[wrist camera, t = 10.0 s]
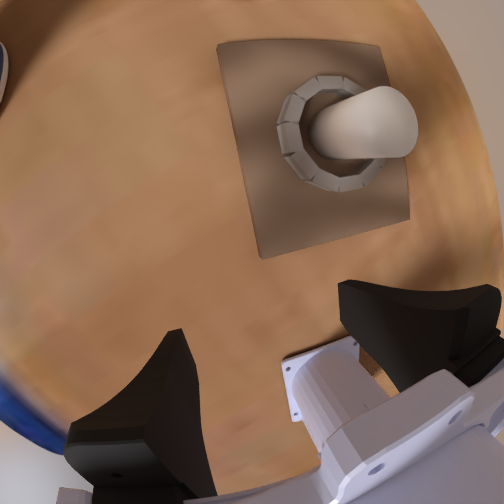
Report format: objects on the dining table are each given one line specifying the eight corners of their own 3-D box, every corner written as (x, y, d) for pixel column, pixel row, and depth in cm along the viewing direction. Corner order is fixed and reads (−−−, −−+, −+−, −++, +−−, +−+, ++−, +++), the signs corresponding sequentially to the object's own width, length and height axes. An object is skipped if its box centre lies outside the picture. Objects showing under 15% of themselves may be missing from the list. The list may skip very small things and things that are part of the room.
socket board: (403, 217, 23) (421, 222, 21) (259, 255, 21) (268, 266, 19) (372, 50, 18) (388, 41, 16) (216, 49, 16) (220, 34, 14)
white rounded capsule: (359, 156, 20) (423, 154, 13) (314, 163, 19) (372, 161, 13) (348, 107, 18) (409, 87, 12) (302, 110, 18) (355, 85, 11)
